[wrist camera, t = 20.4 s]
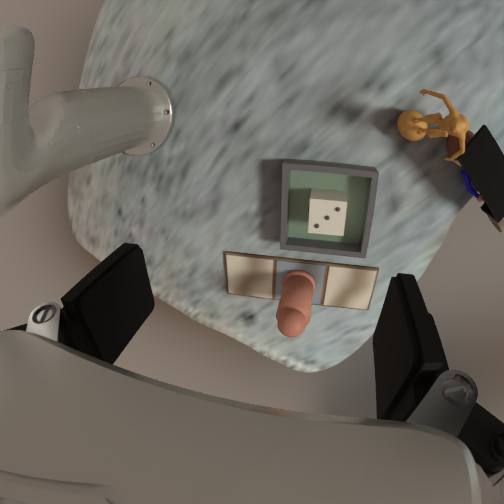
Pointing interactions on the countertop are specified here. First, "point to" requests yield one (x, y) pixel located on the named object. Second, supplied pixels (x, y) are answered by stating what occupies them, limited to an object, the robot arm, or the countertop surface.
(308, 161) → the tray
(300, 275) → the pink cylinder
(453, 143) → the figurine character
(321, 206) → the die
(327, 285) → the track
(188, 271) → the countertop surface
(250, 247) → the countertop surface
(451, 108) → the figurine
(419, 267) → the countertop surface
